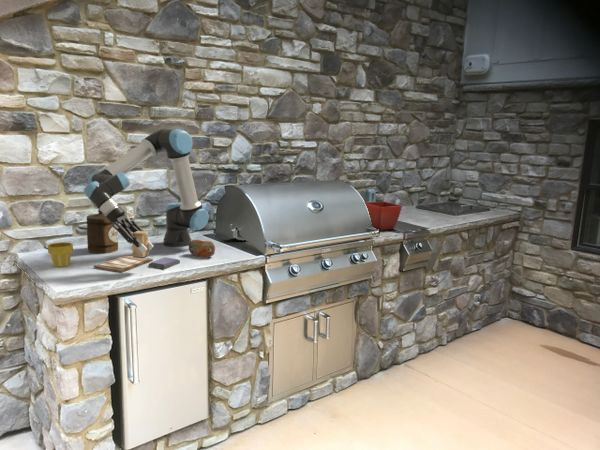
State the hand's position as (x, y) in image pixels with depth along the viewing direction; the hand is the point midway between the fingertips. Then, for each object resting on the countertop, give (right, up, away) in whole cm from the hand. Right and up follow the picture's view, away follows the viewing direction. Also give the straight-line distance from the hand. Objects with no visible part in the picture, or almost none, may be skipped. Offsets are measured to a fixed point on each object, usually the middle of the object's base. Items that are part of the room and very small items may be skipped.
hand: (148, 249), depth 219 cm
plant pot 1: (-43, -8, +9) cm, 45 cm away
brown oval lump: (+17, -5, +33) cm, 38 cm away
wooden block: (-4, -3, +1) cm, 5 cm away
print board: (-16, -8, +14) cm, 22 cm away
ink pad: (+3, -8, +15) cm, 17 cm away
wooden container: (-35, -2, +38) cm, 52 cm away
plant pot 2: (+123, +9, +119) cm, 172 cm away
